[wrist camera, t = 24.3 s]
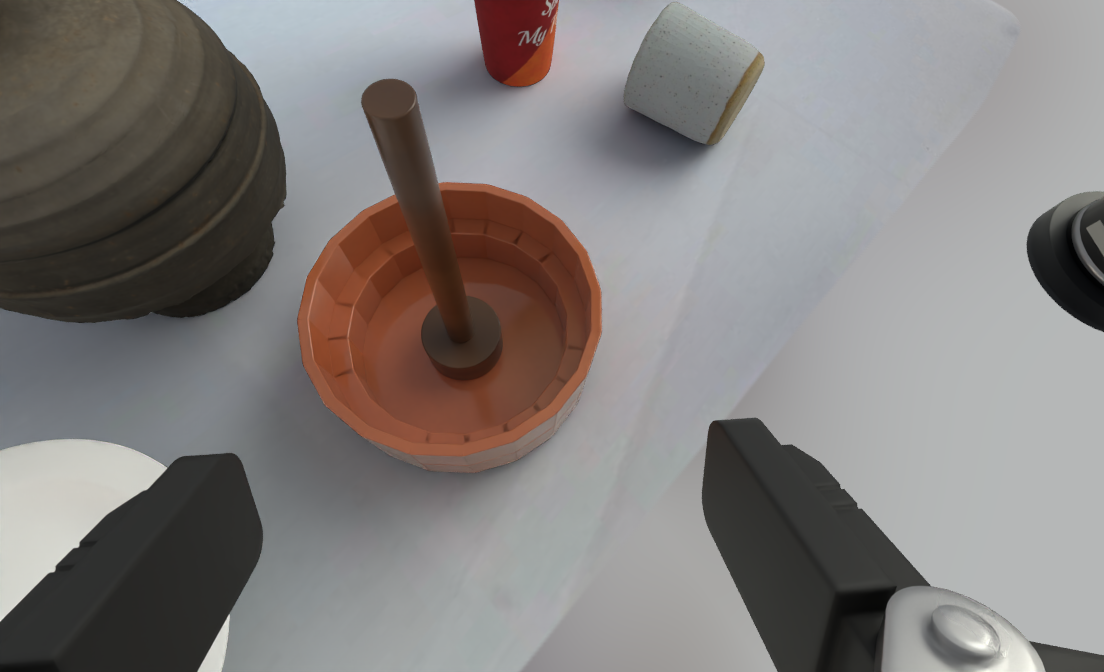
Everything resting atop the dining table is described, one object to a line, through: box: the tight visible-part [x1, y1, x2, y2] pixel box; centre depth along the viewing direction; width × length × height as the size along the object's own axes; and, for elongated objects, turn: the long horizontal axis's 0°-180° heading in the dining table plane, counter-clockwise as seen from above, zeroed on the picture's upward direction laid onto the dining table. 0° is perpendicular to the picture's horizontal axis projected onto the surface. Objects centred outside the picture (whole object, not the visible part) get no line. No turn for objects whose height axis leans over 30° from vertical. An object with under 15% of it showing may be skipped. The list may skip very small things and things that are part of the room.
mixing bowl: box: [297, 182, 602, 473], centre depth 31 cm, size 16×16×6 cm
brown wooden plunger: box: [361, 79, 503, 380], centre depth 25 cm, size 5×5×20 cm
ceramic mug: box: [624, 2, 765, 145], centre depth 40 cm, size 11×8×8 cm
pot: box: [0, 0, 286, 323], centre depth 27 cm, size 18×18×20 cm
